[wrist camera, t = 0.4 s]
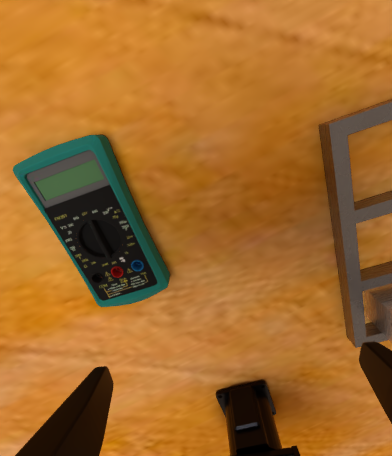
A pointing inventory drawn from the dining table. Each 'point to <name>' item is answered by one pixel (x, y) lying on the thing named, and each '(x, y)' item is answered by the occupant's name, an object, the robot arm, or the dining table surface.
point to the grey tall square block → (380, 308)
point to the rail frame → (353, 218)
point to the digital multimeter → (95, 219)
